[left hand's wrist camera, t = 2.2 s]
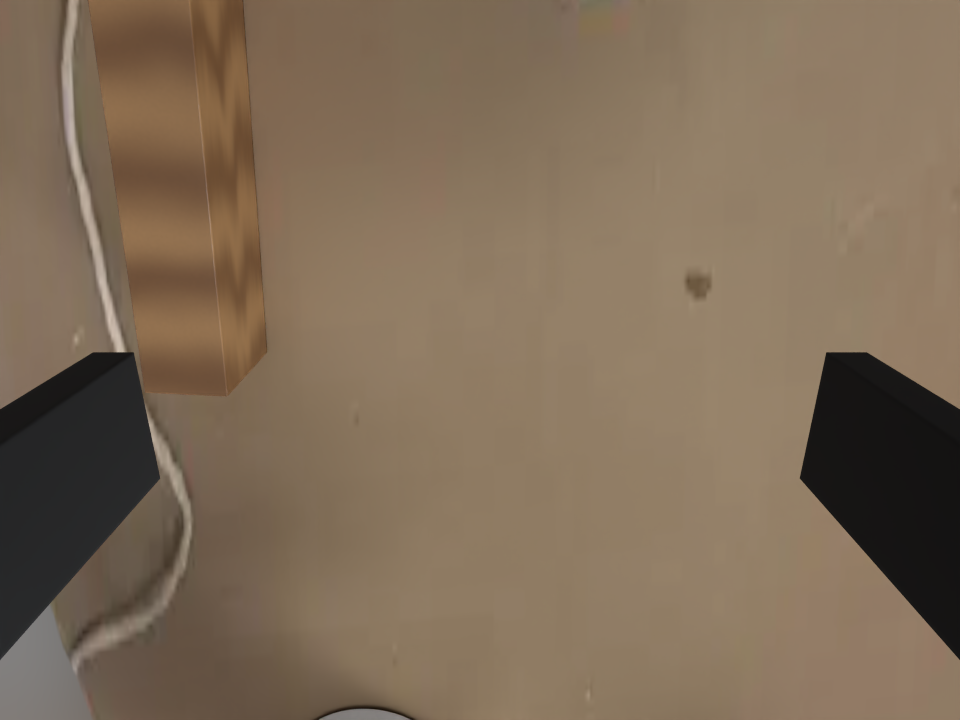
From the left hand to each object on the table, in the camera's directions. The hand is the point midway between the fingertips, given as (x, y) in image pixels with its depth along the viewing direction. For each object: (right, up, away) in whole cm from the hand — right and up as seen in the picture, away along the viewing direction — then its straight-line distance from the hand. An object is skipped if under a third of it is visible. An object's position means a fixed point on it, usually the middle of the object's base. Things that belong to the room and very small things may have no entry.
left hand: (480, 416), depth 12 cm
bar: (-17, +14, +29) cm, 37 cm away
